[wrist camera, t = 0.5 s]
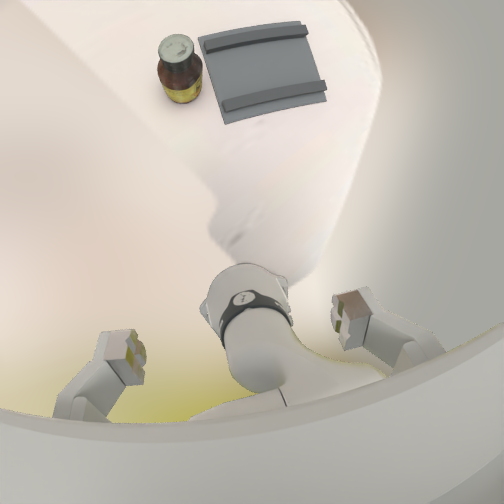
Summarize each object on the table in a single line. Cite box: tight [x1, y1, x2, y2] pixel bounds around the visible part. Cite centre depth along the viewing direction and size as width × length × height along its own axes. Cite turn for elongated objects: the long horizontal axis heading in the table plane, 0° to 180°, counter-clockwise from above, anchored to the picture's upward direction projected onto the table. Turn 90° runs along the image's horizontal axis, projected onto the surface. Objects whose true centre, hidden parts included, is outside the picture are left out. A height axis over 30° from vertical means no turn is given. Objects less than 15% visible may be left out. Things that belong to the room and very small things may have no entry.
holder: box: [198, 21, 327, 124], centre depth 43 cm, size 18×20×3 cm
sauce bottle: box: [157, 34, 203, 103], centre depth 34 cm, size 7×6×20 cm
